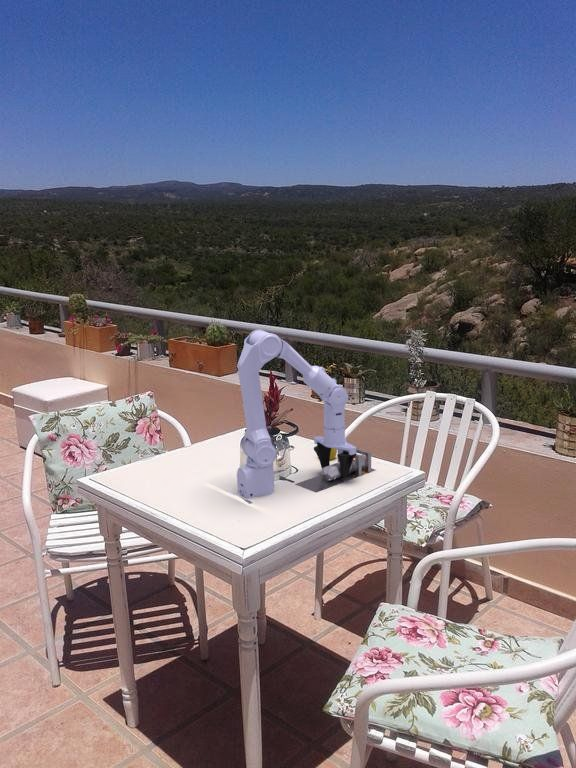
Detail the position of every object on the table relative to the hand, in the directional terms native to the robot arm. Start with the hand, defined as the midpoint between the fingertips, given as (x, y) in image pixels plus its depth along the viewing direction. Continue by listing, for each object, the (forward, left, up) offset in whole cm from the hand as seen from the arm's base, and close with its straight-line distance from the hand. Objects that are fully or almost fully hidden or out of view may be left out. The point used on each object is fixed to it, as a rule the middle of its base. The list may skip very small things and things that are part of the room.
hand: (335, 473), depth 184 cm
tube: (+4, +1, -1) cm, 4 cm away
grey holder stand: (+1, 0, -2) cm, 3 cm away
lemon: (+7, +15, -3) cm, 16 cm away
